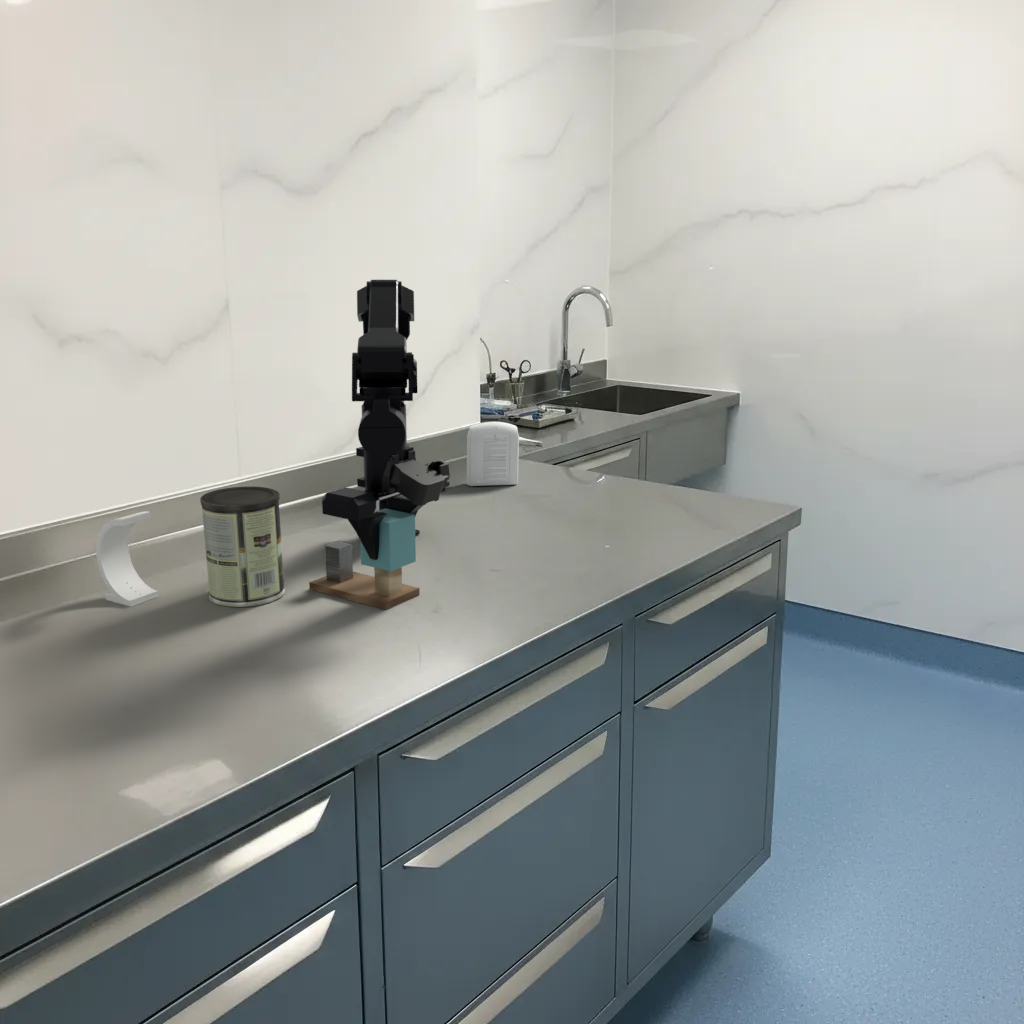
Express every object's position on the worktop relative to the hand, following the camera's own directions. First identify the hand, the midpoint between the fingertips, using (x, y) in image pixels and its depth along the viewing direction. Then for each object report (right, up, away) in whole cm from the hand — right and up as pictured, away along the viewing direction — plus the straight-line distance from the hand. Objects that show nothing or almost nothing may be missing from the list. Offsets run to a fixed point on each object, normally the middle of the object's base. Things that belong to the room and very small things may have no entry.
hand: (387, 554), depth 141 cm
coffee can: (-20, -6, +3) cm, 21 cm away
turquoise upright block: (0, -1, 0) cm, 1 cm away
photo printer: (+13, +11, +64) cm, 67 cm away
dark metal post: (-7, -5, +6) cm, 11 cm away
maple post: (0, -6, +2) cm, 6 cm away
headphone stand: (-35, -6, +1) cm, 36 cm away
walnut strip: (-4, -5, +4) cm, 8 cm away
